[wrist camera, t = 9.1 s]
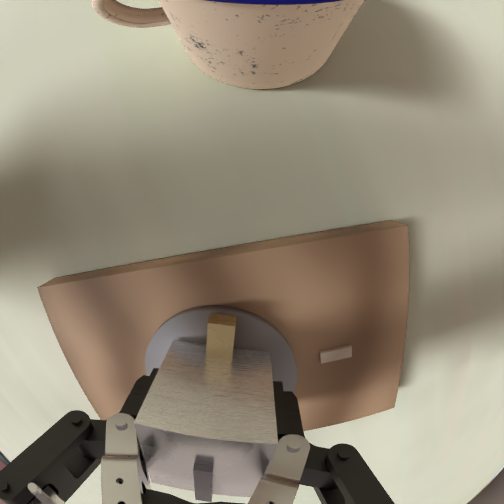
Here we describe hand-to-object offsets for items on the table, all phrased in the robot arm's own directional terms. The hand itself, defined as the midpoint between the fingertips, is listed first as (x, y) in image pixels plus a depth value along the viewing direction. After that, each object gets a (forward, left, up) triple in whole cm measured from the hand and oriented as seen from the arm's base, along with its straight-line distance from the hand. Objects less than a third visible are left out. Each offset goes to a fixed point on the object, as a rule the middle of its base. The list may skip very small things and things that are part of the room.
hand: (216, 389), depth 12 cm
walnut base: (0, 0, -4) cm, 4 cm away
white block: (0, 0, -1) cm, 1 cm away
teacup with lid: (+4, +19, -4) cm, 20 cm away
